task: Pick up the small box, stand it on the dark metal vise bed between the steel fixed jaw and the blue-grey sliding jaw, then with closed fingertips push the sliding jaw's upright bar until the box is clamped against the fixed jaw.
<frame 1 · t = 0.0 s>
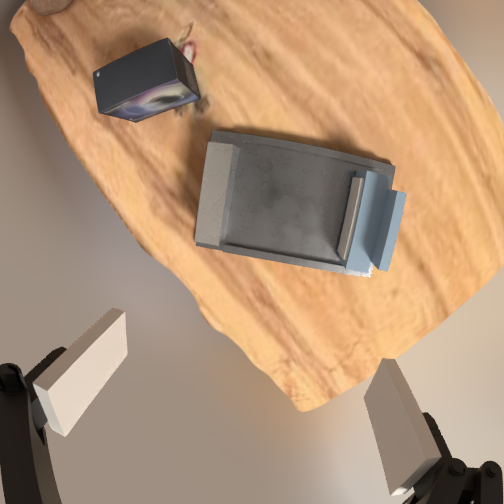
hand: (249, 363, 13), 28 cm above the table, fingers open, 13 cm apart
vise: (288, 202, 39), on the table
small box: (163, 94, 36), on the table
sliding jaw: (369, 222, 34), point 5 cm above the table, slide at 0.0 cm
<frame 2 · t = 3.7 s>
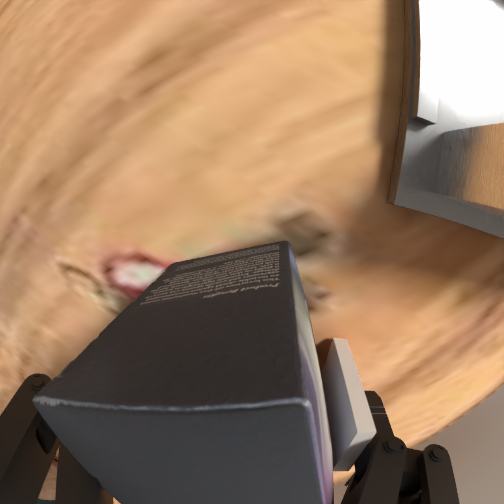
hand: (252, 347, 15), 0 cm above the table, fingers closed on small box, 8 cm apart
small box: (253, 341, 15), on the table, touching gripper
stone: (41, 452, 25), on the table
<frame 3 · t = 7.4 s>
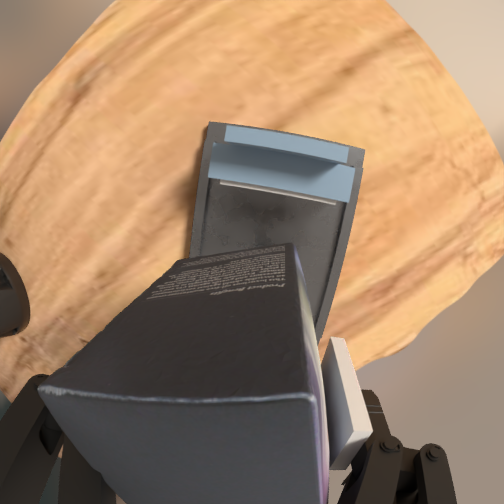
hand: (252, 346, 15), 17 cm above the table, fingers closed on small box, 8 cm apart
vise: (265, 259, 32), on the table
small box: (255, 340, 16), point 17 cm above the table, touching gripper
sliding jaw: (282, 166, 24), point 5 cm above the table, slide at 0.0 cm
when the fingers open (3 cm above the table, at t = 10.3 s): small box drops 1 cm, resting on vise.
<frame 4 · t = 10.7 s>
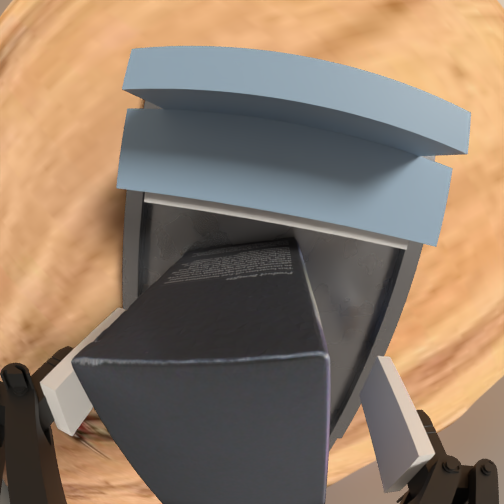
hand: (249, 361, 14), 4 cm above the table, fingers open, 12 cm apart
vise: (254, 329, 18), on the table
small box: (255, 329, 17), point 1 cm above the table, touching vise
sliding jaw: (288, 158, 10), point 5 cm above the table, slide at 0.0 cm
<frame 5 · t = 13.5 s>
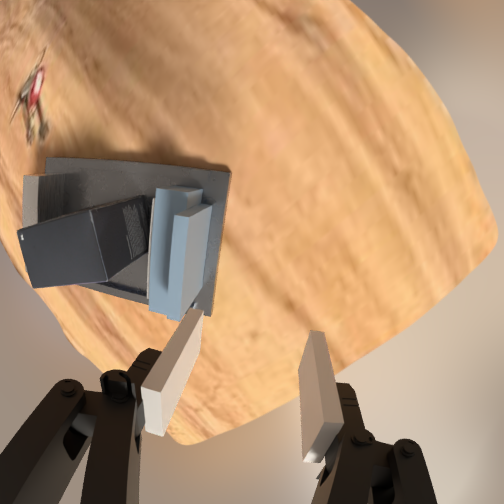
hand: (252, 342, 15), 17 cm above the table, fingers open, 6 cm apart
vise: (112, 227, 32), on the table
small box: (112, 229, 31), point 1 cm above the table, touching vise
sliding jaw: (173, 254, 27), point 5 cm above the table, slide at 0.0 cm
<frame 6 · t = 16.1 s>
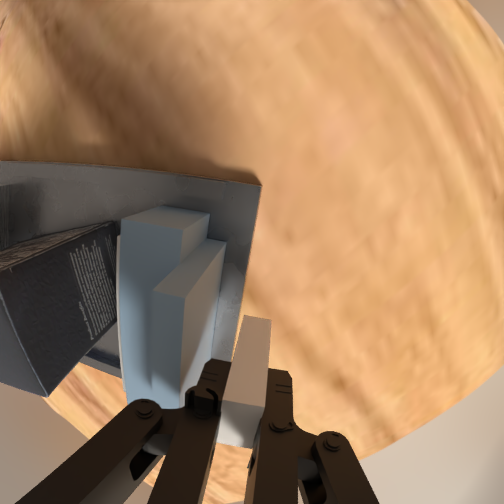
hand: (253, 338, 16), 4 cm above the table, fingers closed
vise: (73, 266, 20), on the table
small box: (72, 271, 19), point 1 cm above the table, touching vise
sliding jaw: (159, 333, 15), point 5 cm above the table, slide at 0.1 cm, touching gripper
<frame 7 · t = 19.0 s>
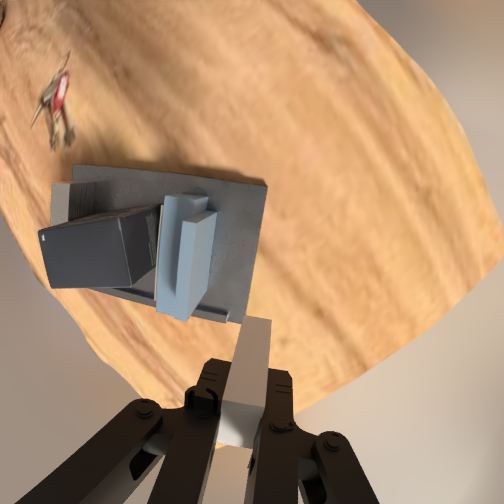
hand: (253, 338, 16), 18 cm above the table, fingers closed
vise: (144, 237, 34), on the table
small box: (130, 234, 33), point 1 cm above the table, touching vise
sliding jaw: (180, 258, 29), point 5 cm above the table, slide at 3.5 cm
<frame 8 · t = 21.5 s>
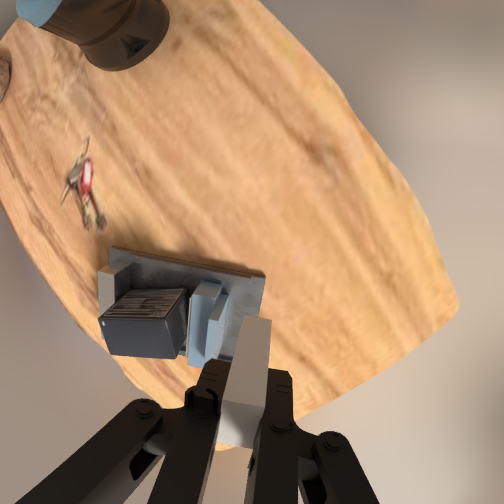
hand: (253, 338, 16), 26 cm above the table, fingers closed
vise: (173, 306, 45), on the table
small box: (162, 305, 45), point 1 cm above the table, touching vise
stone: (2, 86, 37), on the table
sliding jaw: (204, 331, 40), point 5 cm above the table, slide at 3.5 cm
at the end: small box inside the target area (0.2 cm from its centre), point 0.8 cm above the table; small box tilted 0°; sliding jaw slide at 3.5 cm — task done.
